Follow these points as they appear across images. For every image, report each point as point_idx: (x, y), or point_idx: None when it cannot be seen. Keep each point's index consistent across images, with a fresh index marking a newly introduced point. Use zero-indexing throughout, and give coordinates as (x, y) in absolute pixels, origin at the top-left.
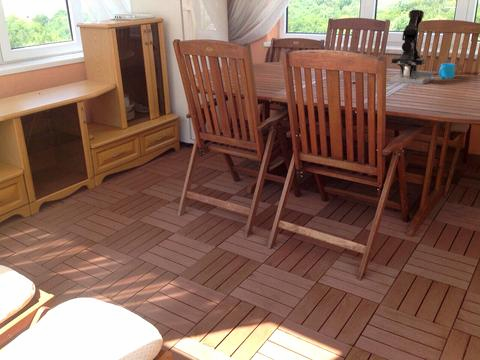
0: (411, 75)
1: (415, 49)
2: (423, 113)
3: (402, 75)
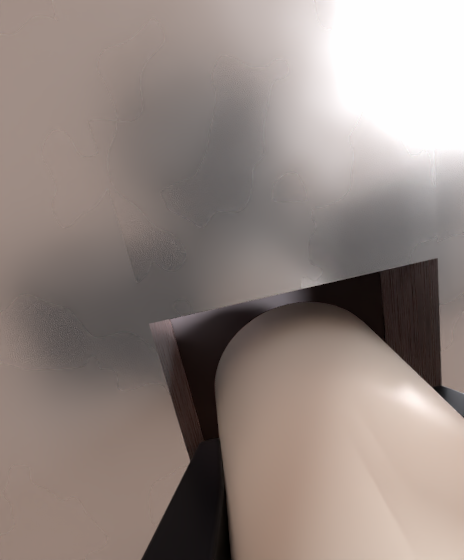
0: None
1: None
2: None
3: None
